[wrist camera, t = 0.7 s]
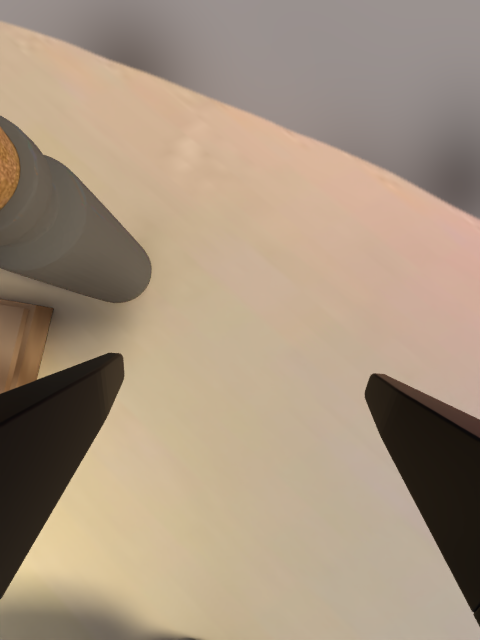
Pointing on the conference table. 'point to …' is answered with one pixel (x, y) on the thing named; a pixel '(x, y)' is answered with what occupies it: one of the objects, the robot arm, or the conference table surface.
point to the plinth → (21, 342)
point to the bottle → (62, 227)
